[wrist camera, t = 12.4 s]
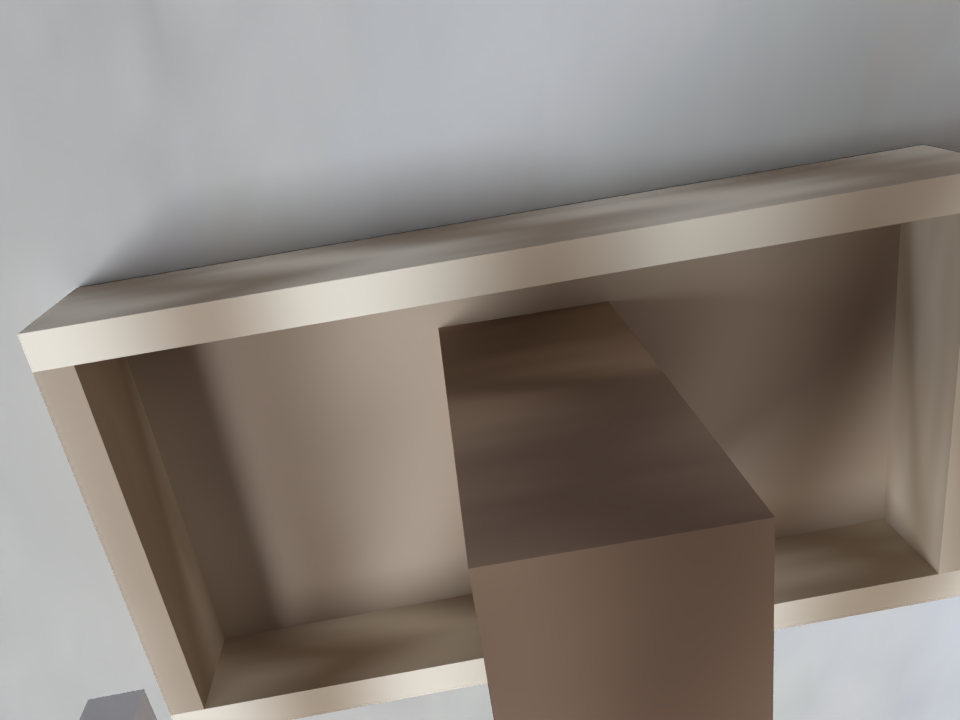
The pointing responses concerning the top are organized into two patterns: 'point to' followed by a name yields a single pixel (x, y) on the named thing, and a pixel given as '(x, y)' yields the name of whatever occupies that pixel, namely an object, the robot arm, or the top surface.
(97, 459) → the open wooden box
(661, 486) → the tan wooden block
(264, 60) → the top surface
